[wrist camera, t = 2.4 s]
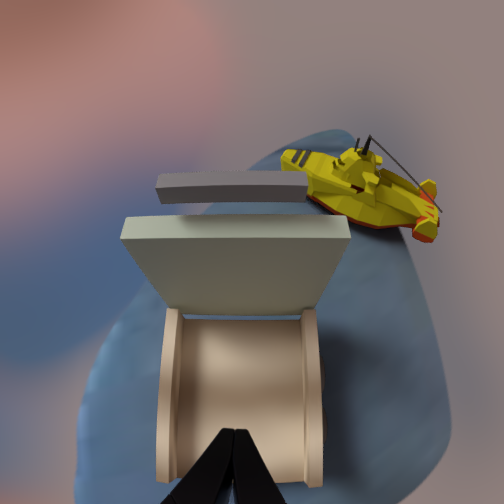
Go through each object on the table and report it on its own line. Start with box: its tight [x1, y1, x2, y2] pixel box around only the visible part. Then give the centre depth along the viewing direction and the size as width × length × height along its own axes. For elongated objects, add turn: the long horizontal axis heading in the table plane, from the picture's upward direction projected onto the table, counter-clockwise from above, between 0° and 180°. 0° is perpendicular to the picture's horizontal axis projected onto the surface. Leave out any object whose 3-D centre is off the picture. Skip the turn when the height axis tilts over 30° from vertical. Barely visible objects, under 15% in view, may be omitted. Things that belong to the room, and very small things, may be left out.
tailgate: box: [120, 171, 351, 316], centre depth 16 cm, size 2×10×12 cm, turn 90°
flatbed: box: [156, 308, 327, 488], centre depth 17 cm, size 12×11×5 cm
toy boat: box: [281, 135, 442, 243], centre depth 25 cm, size 6×18×10 cm, turn 65°
